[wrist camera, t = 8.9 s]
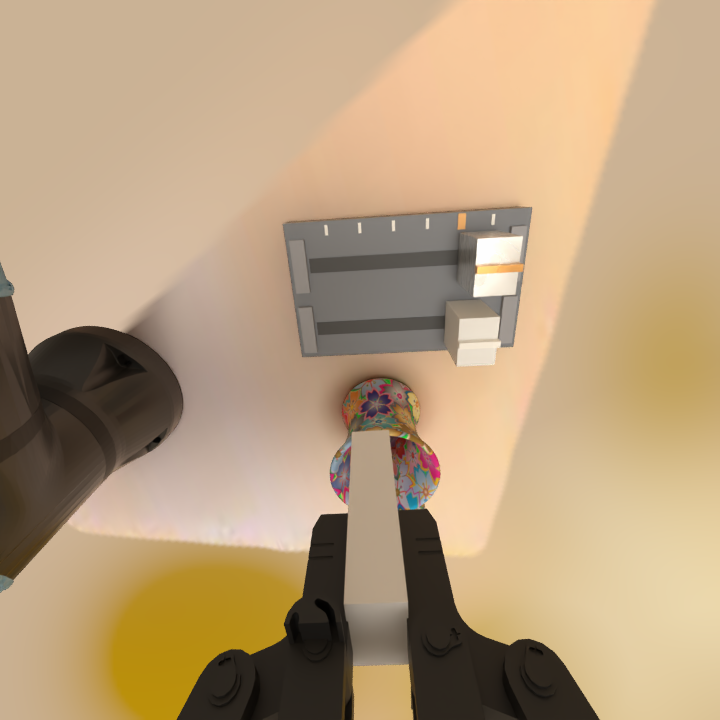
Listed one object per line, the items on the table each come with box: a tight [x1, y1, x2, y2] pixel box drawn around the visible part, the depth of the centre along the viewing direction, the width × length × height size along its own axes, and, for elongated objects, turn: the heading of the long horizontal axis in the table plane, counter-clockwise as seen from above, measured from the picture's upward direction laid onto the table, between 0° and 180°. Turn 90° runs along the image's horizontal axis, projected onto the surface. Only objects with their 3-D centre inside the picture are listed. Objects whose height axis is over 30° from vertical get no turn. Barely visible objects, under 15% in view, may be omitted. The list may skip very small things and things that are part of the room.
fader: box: [457, 230, 524, 297], centre depth 26 cm, size 3×4×6 cm
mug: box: [330, 378, 440, 510], centre depth 34 cm, size 12×9×11 cm
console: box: [283, 207, 532, 367], centre depth 29 cm, size 20×12×8 cm, turn 94°
